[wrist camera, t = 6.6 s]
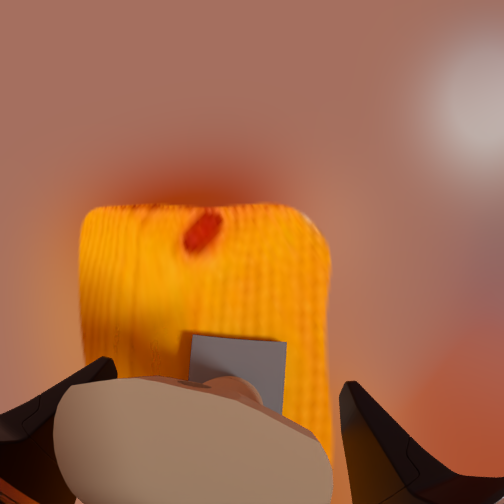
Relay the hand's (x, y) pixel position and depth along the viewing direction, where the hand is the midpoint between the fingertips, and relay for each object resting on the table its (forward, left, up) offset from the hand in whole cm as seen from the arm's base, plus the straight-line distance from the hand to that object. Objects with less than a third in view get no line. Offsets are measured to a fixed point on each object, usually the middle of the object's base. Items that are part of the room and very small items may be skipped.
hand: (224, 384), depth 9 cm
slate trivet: (-1, 0, -11) cm, 11 cm away
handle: (-2, 0, -10) cm, 10 cm away
